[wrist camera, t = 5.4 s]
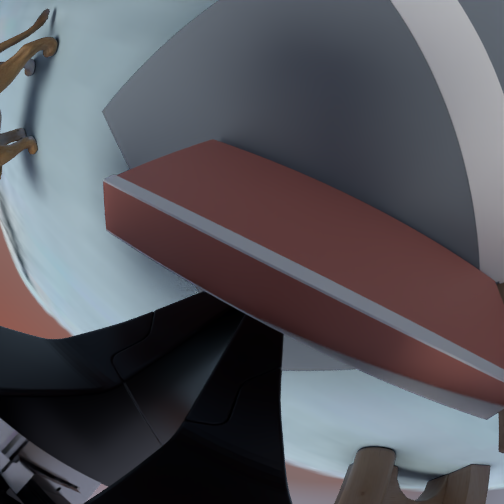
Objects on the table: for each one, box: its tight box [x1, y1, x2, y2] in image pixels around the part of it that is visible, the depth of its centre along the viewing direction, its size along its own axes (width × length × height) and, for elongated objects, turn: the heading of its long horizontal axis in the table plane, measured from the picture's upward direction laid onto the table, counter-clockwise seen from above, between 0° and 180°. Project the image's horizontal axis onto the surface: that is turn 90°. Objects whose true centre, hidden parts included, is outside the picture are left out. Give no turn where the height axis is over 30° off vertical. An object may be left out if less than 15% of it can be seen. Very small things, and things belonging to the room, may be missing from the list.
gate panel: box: [103, 139, 504, 420], centre depth 6 cm, size 10×1×4 cm, turn 75°
